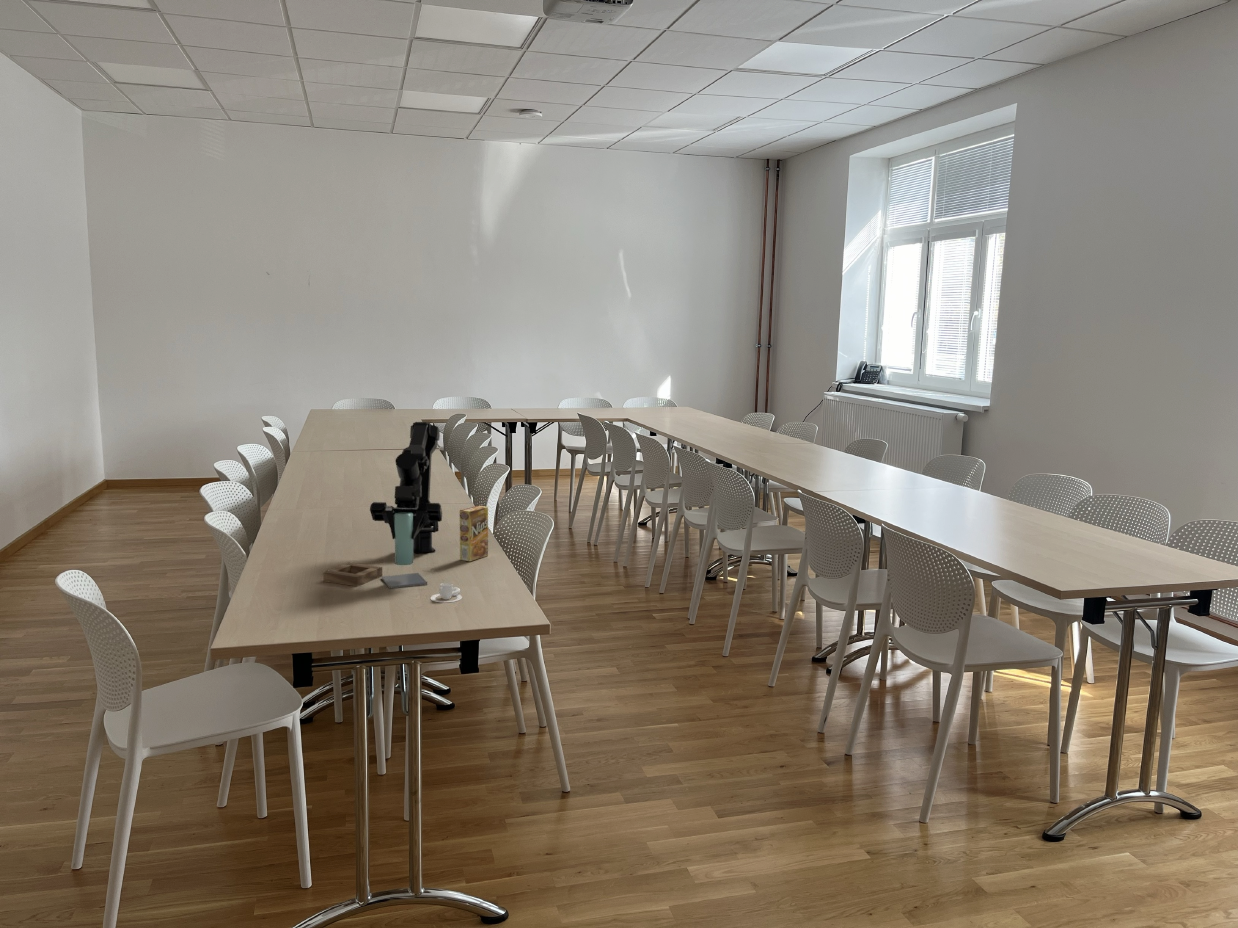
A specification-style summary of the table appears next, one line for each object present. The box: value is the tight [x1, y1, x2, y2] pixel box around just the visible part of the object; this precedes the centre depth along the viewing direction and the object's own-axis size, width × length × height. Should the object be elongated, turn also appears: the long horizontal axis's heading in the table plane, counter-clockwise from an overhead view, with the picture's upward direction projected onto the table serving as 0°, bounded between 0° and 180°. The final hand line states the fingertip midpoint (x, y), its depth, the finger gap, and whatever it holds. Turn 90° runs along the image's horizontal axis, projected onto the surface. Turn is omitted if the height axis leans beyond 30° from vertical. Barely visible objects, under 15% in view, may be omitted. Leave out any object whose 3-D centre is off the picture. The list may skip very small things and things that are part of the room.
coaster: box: [381, 572, 428, 590], centre depth 235 cm, size 10×10×1 cm
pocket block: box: [322, 562, 383, 587], centre depth 236 cm, size 11×11×2 cm
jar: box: [394, 512, 414, 566], centre depth 233 cm, size 5×5×14 cm
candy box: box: [459, 505, 489, 562], centre depth 260 cm, size 9×4×15 cm, turn 150°
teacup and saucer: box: [430, 582, 463, 604], centre depth 222 cm, size 9×8×4 cm
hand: (403, 538), depth 232 cm, fingers closed on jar, 5 cm apart
